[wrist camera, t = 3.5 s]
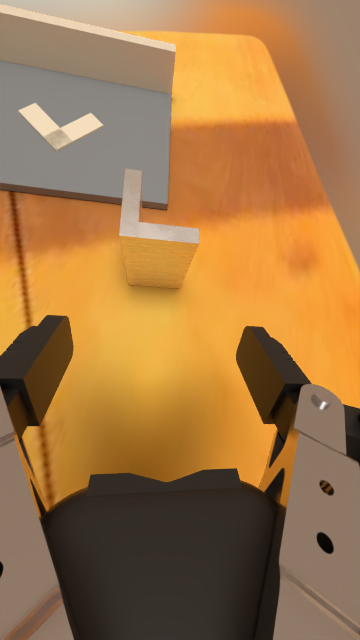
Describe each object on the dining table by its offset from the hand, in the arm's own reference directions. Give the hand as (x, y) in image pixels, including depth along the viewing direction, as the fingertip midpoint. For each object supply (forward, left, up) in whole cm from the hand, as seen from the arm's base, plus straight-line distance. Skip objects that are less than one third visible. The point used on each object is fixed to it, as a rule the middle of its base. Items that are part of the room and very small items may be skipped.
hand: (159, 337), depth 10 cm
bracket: (0, +10, -13) cm, 16 cm away
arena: (-11, +26, -12) cm, 31 cm away
